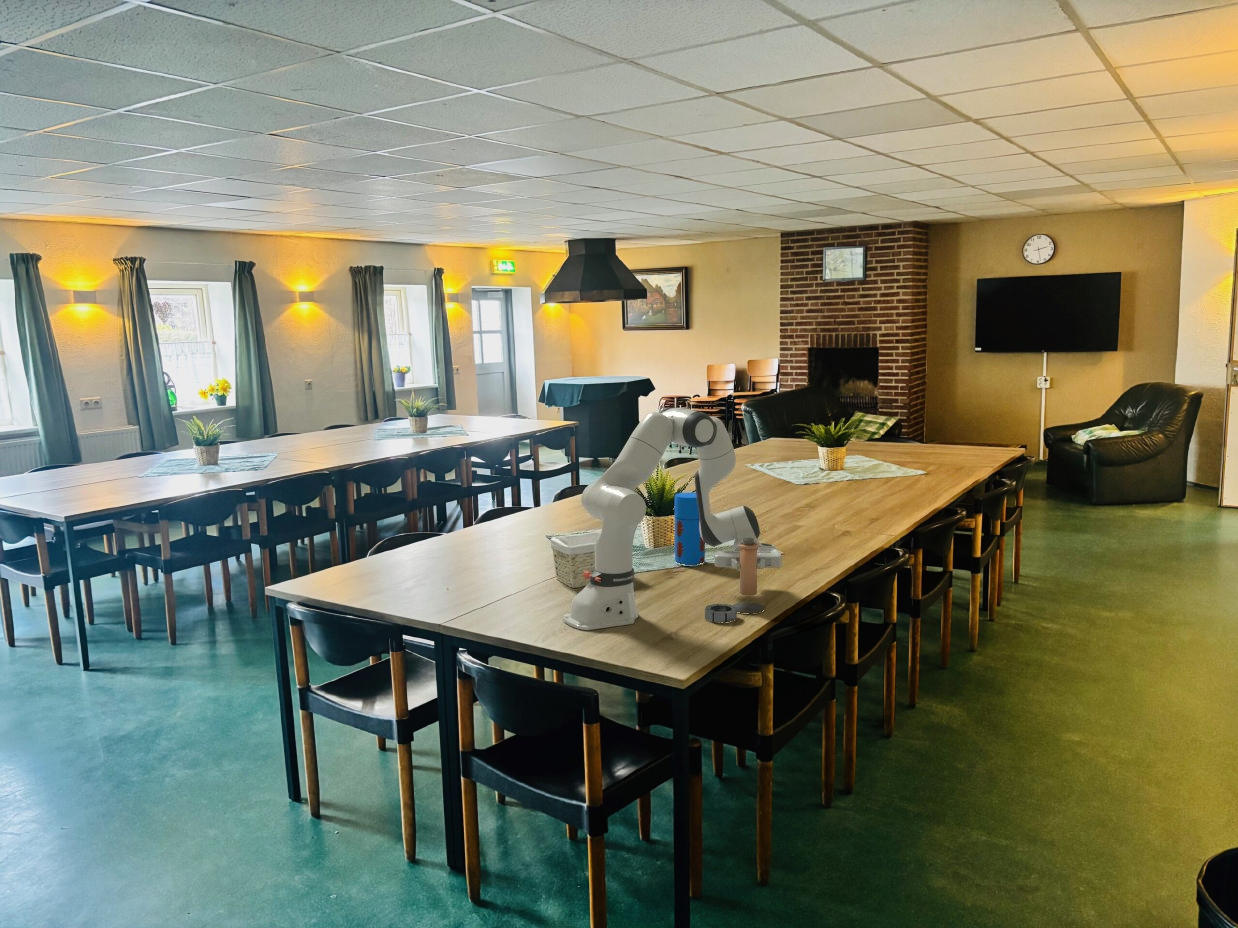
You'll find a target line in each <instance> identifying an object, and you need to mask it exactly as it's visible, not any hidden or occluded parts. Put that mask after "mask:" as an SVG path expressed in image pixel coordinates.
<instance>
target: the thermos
mask: <svg viewBox="0 0 1238 928" xmlns="http://www.w3.org/2000/svg"><path fill="white" fill-rule="evenodd" d="M699 523H700V517H699V511H698V505H697V498H696V492H680V493H676V494H674V562H675V561H676V562H677V563H680V564H685V565H697V564H700V563H703V562H704V561H705V560H706V559H705V558H706V543H704V541H703V540H702V538H701V535H700V530H699ZM705 562H706V561H705ZM705 562H704V563H705Z"/></svg>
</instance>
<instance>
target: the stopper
mask: <svg viewBox="0 0 1238 928" xmlns="http://www.w3.org/2000/svg"><path fill="white" fill-rule="evenodd" d="M738 547H739V548H740V569H739V593H740V595H742V596H746V597H747V596H748V597H749V596H756V595H757V594H758V569H757V548H759V544H758V543H755V542H754V538H743V542H741V543H739V544H738Z"/></svg>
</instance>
